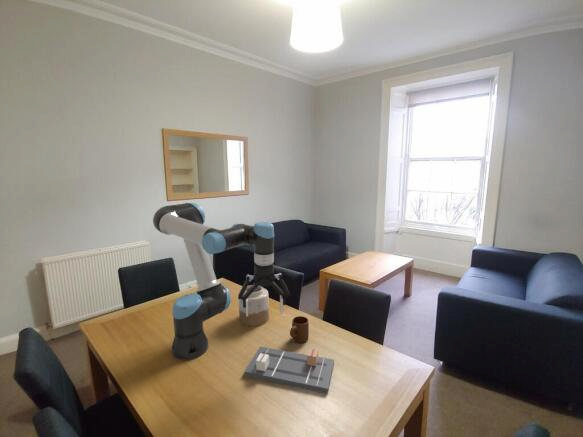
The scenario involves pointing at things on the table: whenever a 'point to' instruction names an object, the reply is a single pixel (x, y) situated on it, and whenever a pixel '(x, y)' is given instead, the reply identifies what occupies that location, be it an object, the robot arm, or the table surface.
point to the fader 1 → (262, 362)
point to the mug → (300, 329)
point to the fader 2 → (312, 357)
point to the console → (293, 370)
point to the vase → (255, 307)
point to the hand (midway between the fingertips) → (264, 313)
